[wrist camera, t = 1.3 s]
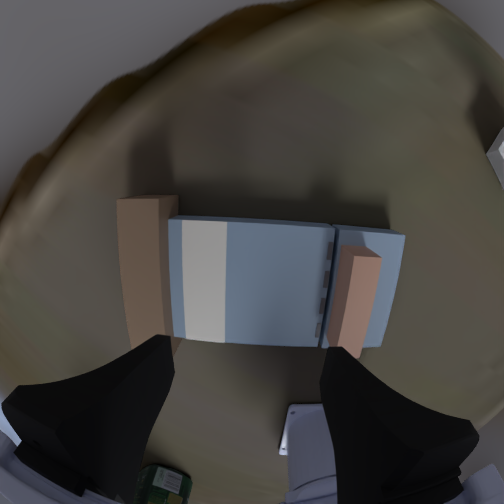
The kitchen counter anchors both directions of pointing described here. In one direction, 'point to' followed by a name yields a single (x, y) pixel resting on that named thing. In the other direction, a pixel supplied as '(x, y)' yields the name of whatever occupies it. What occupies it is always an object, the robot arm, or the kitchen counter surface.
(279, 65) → the kitchen counter surface
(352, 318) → the slab with raised block
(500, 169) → the figurine
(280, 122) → the kitchen counter surface
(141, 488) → the coffee jar
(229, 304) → the striped blue tabbed panel
